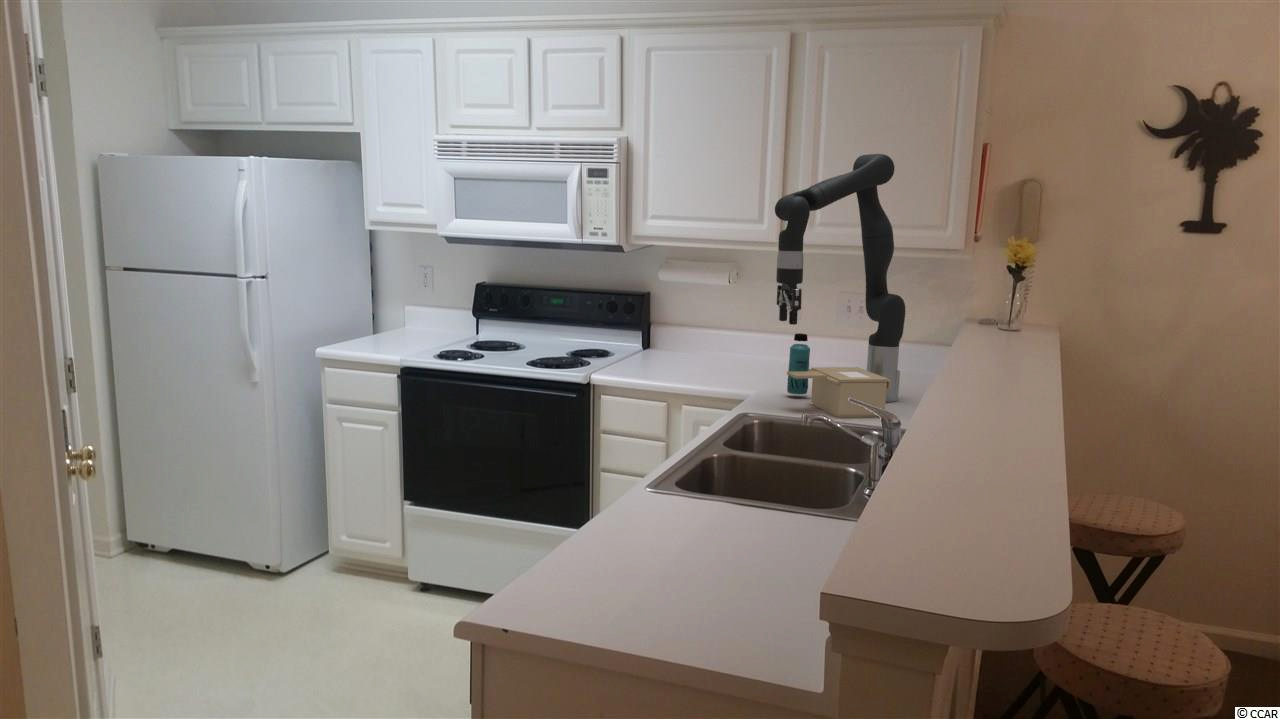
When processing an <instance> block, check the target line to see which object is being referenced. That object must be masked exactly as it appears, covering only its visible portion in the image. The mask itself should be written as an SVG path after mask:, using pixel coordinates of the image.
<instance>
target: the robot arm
mask: <svg viewBox="0 0 1280 719" xmlns="http://www.w3.org/2000/svg"><path fill="white" fill-rule="evenodd" d="M894 175H895V163H894V161H893V159H892V158H891V157H890V156H889V155H887V154H883V153H873V154H872V153H871V154H870V153H869V154H862V155H860V156H858V157H857V158H856V159H855V160H854V163H853V166H852V171H849V172H846V173H843V174H840V175H836V176H833V177H830V178H827V179H824V180H821V181H820V182H817V183H815V184H813V185H810V186H809V187H808V188H806V189H802V190H798V191H796V192H792V193H789V194H786V195H783V196H782V197H781V198H780V199H779V200H777V201H776V204H775V206H774V212H775V213H774V214H775V216H776V218H778V219H779V220H781V221H784V222H787V224H786V227H785V229H783V230H781V231H780V232H779V235H778V246H777V248H778V249H777V250H778V252H777V258H776V276H775V277H776V280H775V282H776V283H777V284H778V285H777V290H776V305H777V306H778V308H779V310H778V311H779V313H778V314H779V316H778V319H779V321H781V322H787V321H788V323H789V325H793V326H794V325H797V324H798V314H799V313H798V312H799V311H801V310H802V288H798V286H797V285H800V284H801V285H802V283H803V281H804V259H805V258H804V238H805V237H804V235H805V233H806V230H807V227H808V226H807V225H808V223H809V218H810V213H811V212H814V211H815V212H816V211H819V210H821V209H823V208H825V207H827V206H829V205H831V204H833V203H835V202H837V201H839V200H842V199H844V198H847V197H848V196H851V195H852V194H855V193H856V198H857V203H858V210H859V211H858V212H859V221H860V227H861V242H862V252H863V262H864V272H865V275H864V276H865V312H866V314H867V316H868V318H869V319H870V320H871V321H873V322H877V323H878V324H877V330H876V331H875V332H874V333H871V334H870V335H869V336H868V345H867V347H868V348H867V359H866V360H867V361H866V371H869V372H871V373H874V374H877V375H879V376H882V377H885V378H887V379H889V380H891V389H887V388H886V402H885V403H894V402H899V392H900V380H901V379H900V376H901V371H900V370H899V369H898V368H899V353H900V342H901V340H902V338H903V334H904V328H905V320H906V319H905V318H906V304H905V301H904V299H903V298H902V296H900V295H899V294H895V293H889V291H888V282H887V281H888V279H887V278H888V276H887V275H888V270H889V267H890V265H891V261H892V259H893V256H894V251H895V240H894V231H893V226H892V223H891V222H890V219H889V217H888V215H887V214H886V212H885V210H884V208H883V206H882V205H881V203H880V198H879V193H878V186H882V185H885V184H887V183H889V181H891V179H892V178H893V176H894ZM788 309H789V311H788ZM788 312H789V313H788ZM788 314H789V315H788Z"/></svg>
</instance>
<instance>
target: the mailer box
mask: <svg viewBox="0 0 1280 719" xmlns="http://www.w3.org/2000/svg"><path fill="white" fill-rule="evenodd" d="M811 381H812V383H811V398H810V399H811V400H810V404H811V403H813V404H814V405H813V404H812V405H813V406H815V405H816V406H815V407H817V406H818V407H817V408H819V407H820V408H821V410H822V409H823V410H822V411H824V410H825V411H824V412H827V413H828V414H830V415H832V416H834V417H836V418H838V419H848V418H849V419H855V418H879V417H878V416H877V415H875V414H874V413H873V412H870V411H869V410H867V409H865V408H864V407H862V406H859V405H857V404H854V403H851V402H850V401H848V398H849V397H851V398H853V399H856V400H859V401H862V402H864V403H867V404H870V405H872V406H875V407H878V408H881V409H883V410H885V411H886V403H887V402H886V388H887V382H840V384H839V385H836V384H834V383H831V382H829V381H827V380H825V379H822V378H812V380H811ZM820 408H819V409H820Z"/></svg>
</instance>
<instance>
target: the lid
mask: <svg viewBox="0 0 1280 719" xmlns="http://www.w3.org/2000/svg"><path fill="white" fill-rule="evenodd" d="M786 375H787V376H788V375H790V376H792V377H794V378H808V379H813V378H822V379H825V380H827V381H829V382H831V383H834V384H836V385H839V384H840V382H887V389H891V380H889V379H887V378H885V377H882V376H879V375H877V374H874V373H871V372H869V371H867V369H863V368H861V367H859V366H858V367H857V366H856V367H855V366H854V367H852V366H850V367H849V366H845V367H844V366H842V367H837V366H836V367H835V366H832V367H831V366H830V367H816V366H815V367H810V368H809V370H808V371H794V372H788V371H786Z"/></svg>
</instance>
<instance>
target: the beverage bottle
mask: <svg viewBox="0 0 1280 719" xmlns="http://www.w3.org/2000/svg"><path fill="white" fill-rule="evenodd" d="M793 341H795V342H808V334H807V333H801V332H800V333H795V334H794V338H793ZM810 353H811V348H810V347H809V345H808V344H804V343H794V344H792V345H791V346H790V347H789V360H788V370H787V372H794V371H808V370H809V369H810V355H811V354H810ZM786 387H787V388H786V391H787V393H788V394H793V395H807V393H808V391H809V378H794V377H792V376H790V375H787V385H786Z"/></svg>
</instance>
